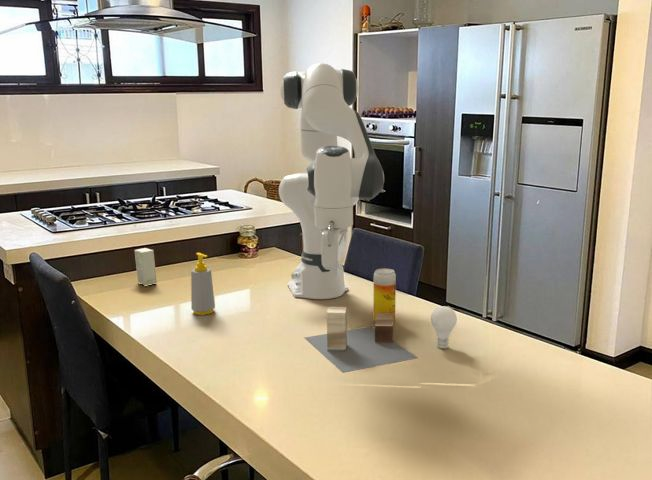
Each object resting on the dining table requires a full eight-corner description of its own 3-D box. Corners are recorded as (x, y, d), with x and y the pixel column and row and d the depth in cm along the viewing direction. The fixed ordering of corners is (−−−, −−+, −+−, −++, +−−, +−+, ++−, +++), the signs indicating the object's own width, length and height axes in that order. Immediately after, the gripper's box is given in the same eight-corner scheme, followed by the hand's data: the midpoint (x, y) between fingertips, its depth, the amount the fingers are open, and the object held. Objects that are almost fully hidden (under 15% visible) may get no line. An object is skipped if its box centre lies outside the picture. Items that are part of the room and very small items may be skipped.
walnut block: (392, 326, 160) (393, 313, 170) (374, 325, 160) (376, 312, 170) (392, 342, 161) (393, 329, 170) (374, 342, 161) (376, 328, 171)
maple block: (345, 351, 156) (345, 312, 154) (327, 350, 156) (326, 312, 154) (346, 344, 160) (346, 307, 158) (329, 344, 161) (328, 306, 158)
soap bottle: (199, 317, 183) (195, 257, 179) (187, 312, 188) (183, 253, 184) (219, 312, 187) (216, 253, 183) (207, 306, 192) (204, 249, 188)
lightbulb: (439, 342, 162) (440, 301, 160) (460, 348, 158) (462, 306, 155) (424, 348, 158) (425, 306, 155) (446, 355, 153) (447, 312, 151)
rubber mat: (304, 339, 165) (303, 337, 165) (371, 327, 173) (371, 326, 173) (342, 374, 144) (342, 372, 144) (418, 359, 151) (418, 357, 151)
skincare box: (157, 284, 216) (154, 250, 214) (145, 287, 213) (142, 252, 211) (148, 281, 221) (146, 247, 218) (136, 283, 218) (134, 249, 215)
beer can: (394, 327, 173) (394, 274, 170) (372, 325, 174) (372, 273, 171) (396, 319, 179) (396, 268, 176) (374, 318, 180) (375, 267, 177)
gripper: (343, 226, 134) (344, 289, 137) (350, 210, 154) (350, 265, 157) (314, 226, 135) (315, 288, 138) (325, 210, 155) (325, 265, 158)
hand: (334, 276), depth 148 cm, fingers closed
